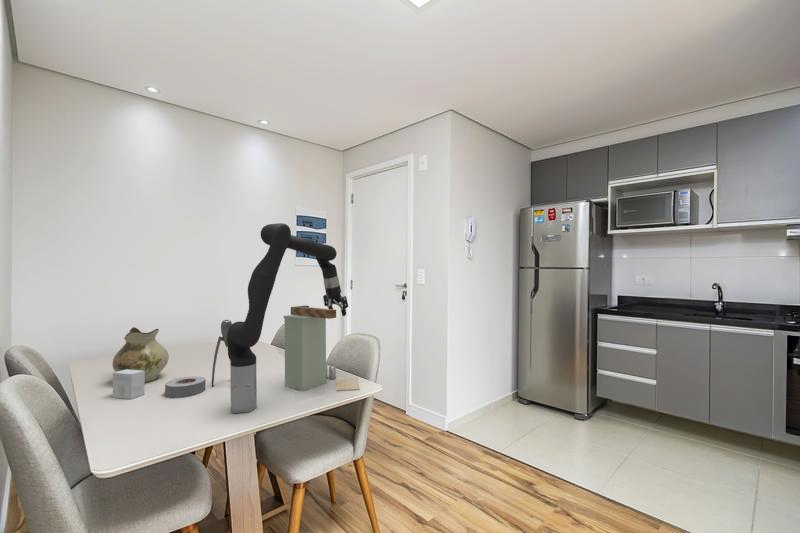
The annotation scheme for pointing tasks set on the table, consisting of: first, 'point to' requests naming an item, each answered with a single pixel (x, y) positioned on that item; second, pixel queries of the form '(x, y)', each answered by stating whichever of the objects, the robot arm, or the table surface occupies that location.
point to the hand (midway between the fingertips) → (338, 314)
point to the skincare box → (128, 384)
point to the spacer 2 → (332, 372)
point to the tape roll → (184, 387)
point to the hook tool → (313, 312)
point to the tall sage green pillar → (305, 352)
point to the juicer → (224, 330)
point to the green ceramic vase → (141, 354)
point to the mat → (347, 384)
